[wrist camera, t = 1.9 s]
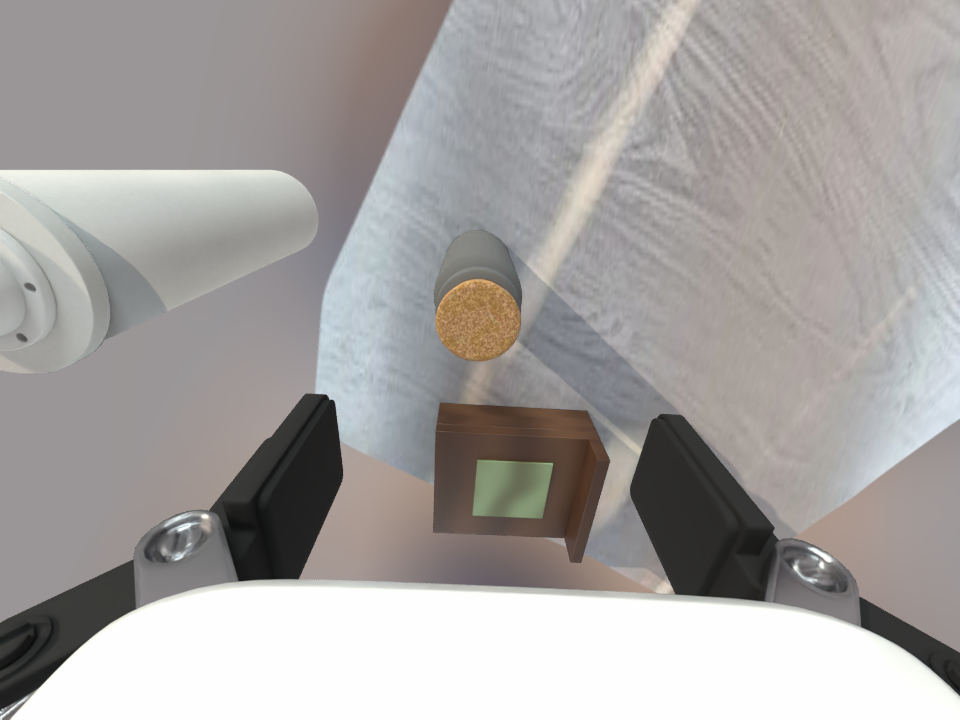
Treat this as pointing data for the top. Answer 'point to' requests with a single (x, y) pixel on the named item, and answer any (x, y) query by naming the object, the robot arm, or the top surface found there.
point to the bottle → (478, 298)
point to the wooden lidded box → (518, 473)
